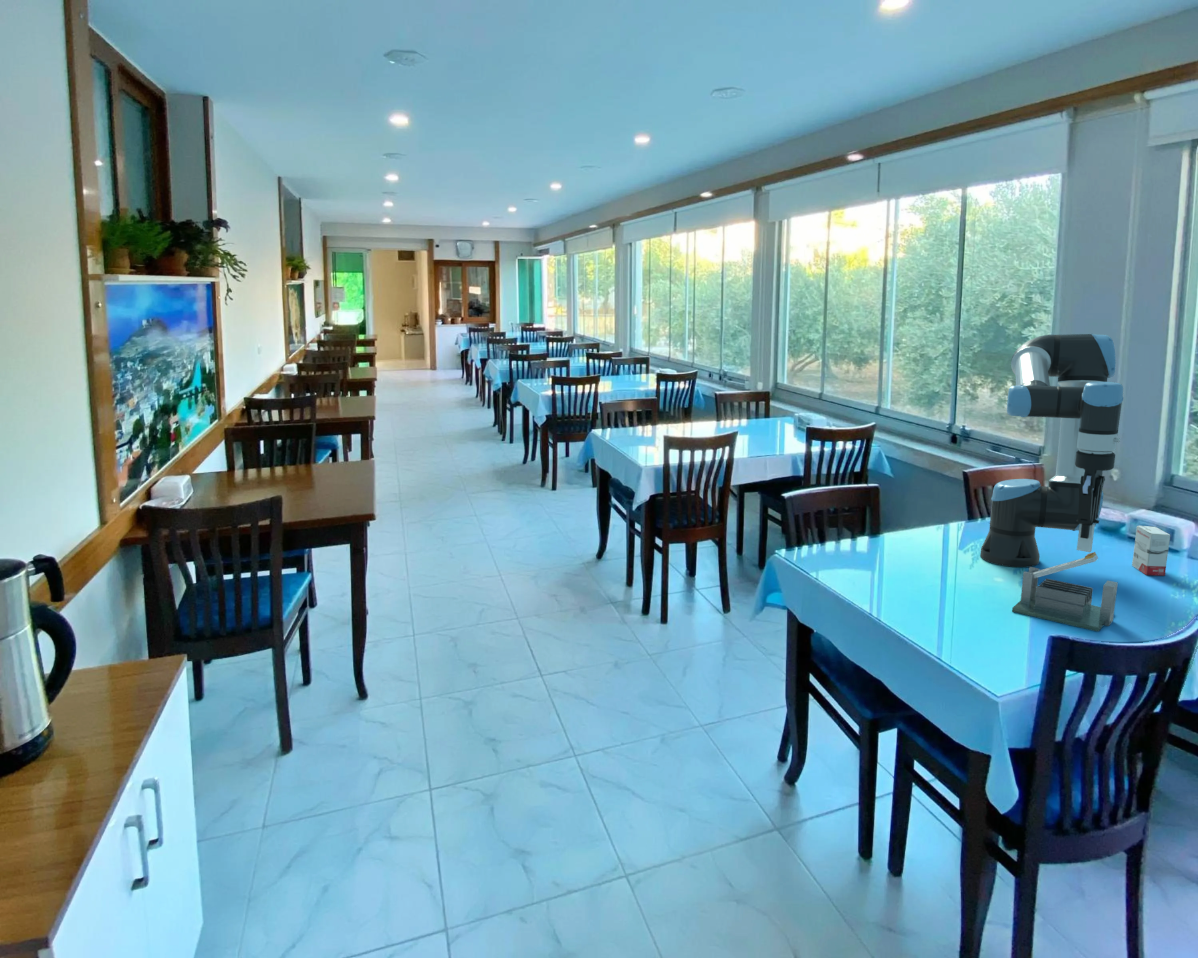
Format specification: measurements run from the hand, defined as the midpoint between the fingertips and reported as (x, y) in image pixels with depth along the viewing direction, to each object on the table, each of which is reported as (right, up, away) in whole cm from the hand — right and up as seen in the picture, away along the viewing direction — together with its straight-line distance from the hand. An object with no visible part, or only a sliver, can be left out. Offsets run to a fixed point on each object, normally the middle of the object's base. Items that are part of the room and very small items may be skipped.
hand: (1084, 550), depth 179 cm
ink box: (+38, -9, +32) cm, 51 cm away
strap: (-3, -5, +4) cm, 7 cm away
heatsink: (-2, -16, +6) cm, 17 cm away
